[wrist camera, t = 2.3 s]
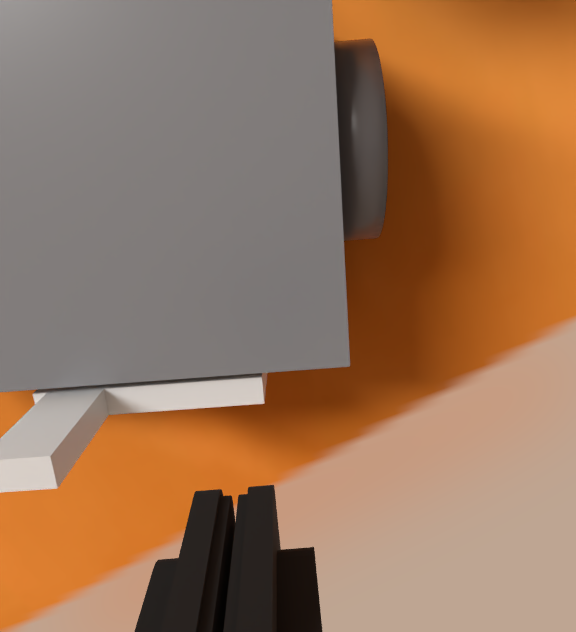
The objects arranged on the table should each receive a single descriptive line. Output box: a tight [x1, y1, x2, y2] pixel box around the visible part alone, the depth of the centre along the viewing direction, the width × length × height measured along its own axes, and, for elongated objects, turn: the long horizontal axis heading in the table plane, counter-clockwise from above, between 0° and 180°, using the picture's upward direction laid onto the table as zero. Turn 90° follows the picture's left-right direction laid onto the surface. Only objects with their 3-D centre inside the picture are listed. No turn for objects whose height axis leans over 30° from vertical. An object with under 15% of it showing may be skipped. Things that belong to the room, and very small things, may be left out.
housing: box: [0, 0, 388, 392], centre depth 21 cm, size 22×13×10 cm, turn 95°
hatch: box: [0, 373, 267, 492], centre depth 20 cm, size 8×1×12 cm, turn 95°
